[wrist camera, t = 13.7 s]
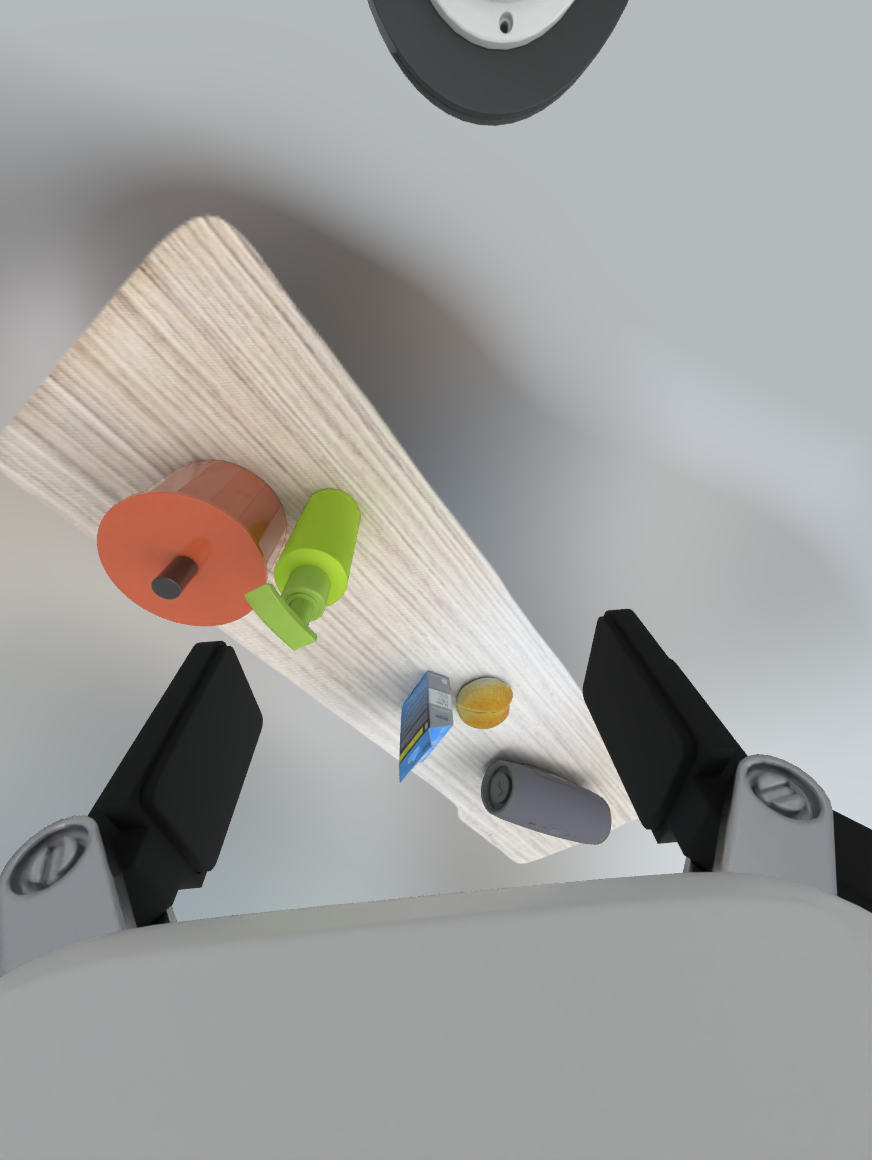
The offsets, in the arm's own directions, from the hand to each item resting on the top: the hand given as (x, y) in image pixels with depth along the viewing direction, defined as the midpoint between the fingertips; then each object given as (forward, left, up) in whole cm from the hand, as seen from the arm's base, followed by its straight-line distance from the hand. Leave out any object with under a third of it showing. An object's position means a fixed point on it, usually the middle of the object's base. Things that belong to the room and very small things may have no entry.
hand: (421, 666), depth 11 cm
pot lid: (+10, -20, -25) cm, 34 cm away
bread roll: (+42, +8, -34) cm, 55 cm away
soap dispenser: (+10, -9, -34) cm, 37 cm away
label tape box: (+40, -1, -34) cm, 53 cm away
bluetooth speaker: (+65, +19, -34) cm, 75 cm away
